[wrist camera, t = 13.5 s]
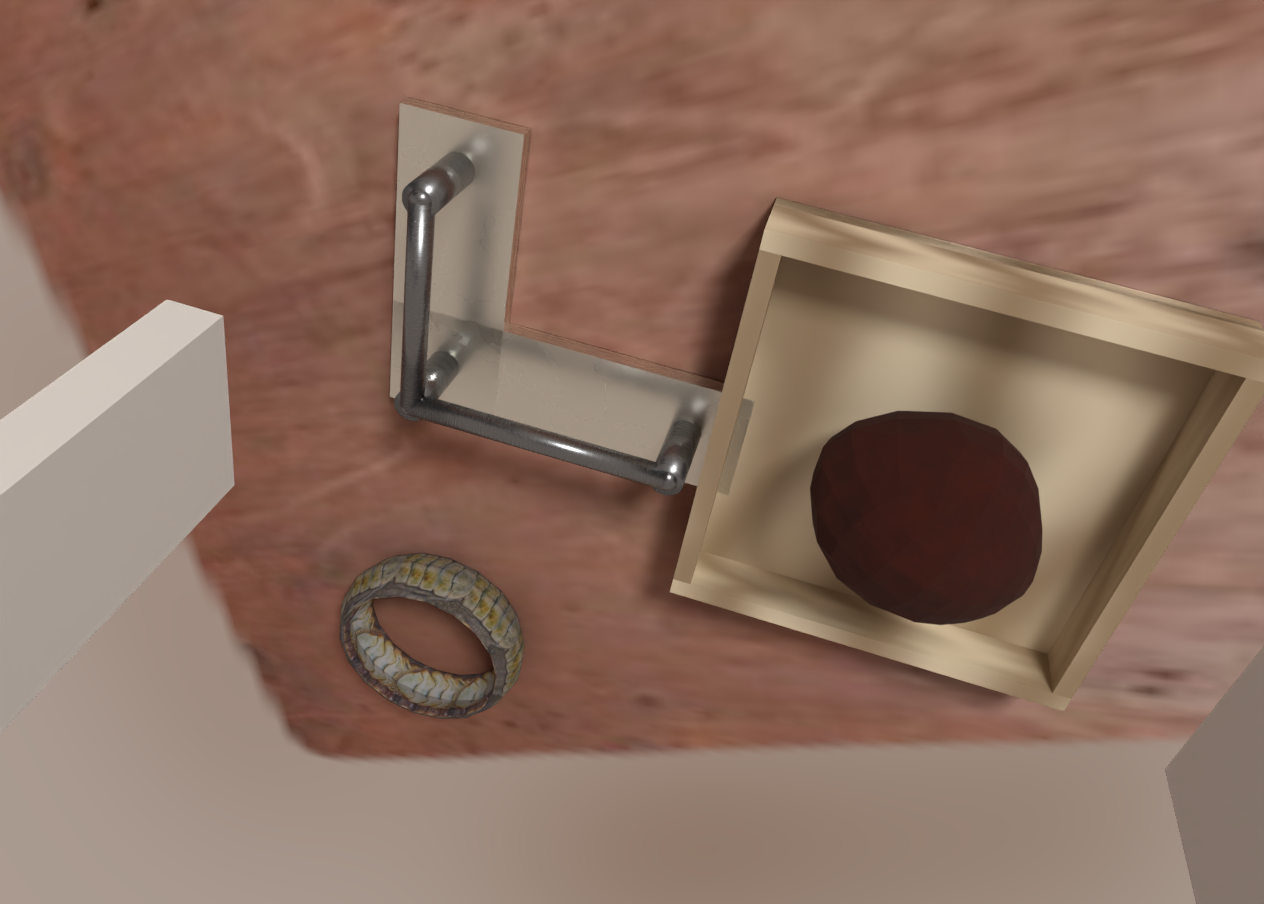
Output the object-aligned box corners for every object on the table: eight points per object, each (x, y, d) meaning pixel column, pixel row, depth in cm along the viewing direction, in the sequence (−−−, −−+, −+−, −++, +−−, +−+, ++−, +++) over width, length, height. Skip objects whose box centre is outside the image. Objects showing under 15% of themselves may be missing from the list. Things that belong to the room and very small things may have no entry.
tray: (684, 547, 48) (669, 592, 46) (776, 197, 38) (764, 228, 36) (1057, 658, 46) (1063, 711, 44) (1259, 321, 36) (1283, 364, 34)
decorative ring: (463, 709, 59) (569, 635, 54) (440, 753, 57) (550, 680, 51) (325, 599, 57) (422, 510, 52) (295, 639, 54) (394, 550, 49)
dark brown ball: (957, 576, 44) (959, 708, 38) (777, 466, 44) (750, 582, 37) (1092, 452, 40) (1120, 579, 33) (893, 326, 39) (884, 432, 33)
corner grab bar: (397, 388, 47) (349, 442, 44) (408, 97, 40) (352, 132, 36) (731, 484, 46) (712, 549, 42) (812, 200, 38) (797, 249, 34)
